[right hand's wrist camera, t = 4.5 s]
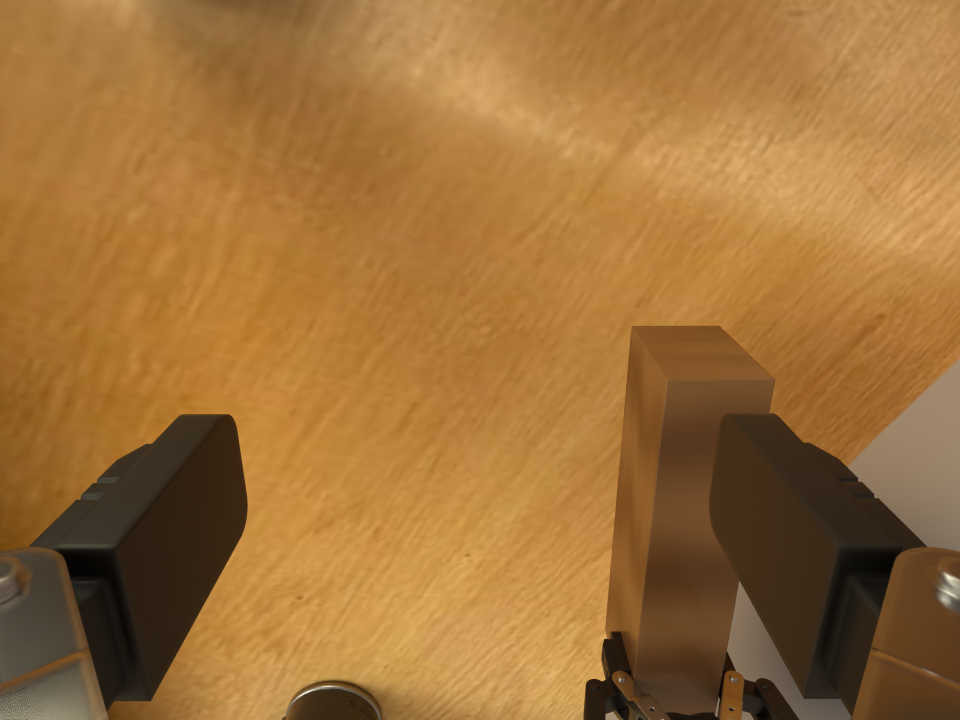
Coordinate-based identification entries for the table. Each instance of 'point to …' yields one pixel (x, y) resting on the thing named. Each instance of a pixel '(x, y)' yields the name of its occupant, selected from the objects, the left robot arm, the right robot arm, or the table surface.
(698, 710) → the bar
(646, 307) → the table surface
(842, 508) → the right robot arm
